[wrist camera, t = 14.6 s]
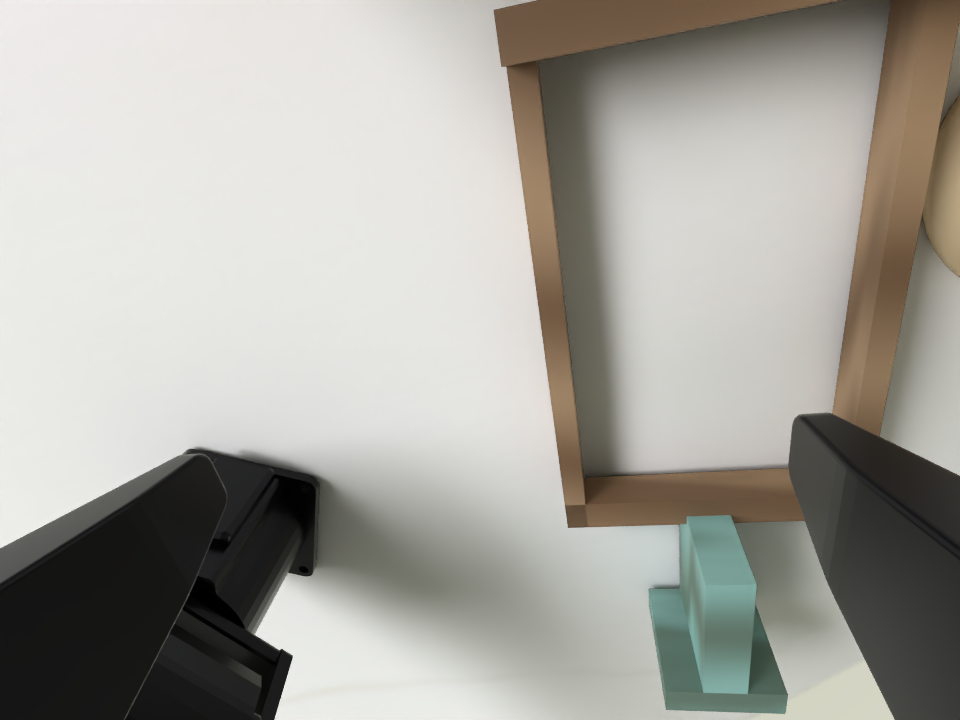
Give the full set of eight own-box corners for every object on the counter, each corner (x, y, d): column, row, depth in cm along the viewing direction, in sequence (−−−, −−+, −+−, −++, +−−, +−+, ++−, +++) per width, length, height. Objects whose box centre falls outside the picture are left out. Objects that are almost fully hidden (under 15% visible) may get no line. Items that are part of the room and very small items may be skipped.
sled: (824, 605, 25) (878, 717, 20) (581, 606, 27) (585, 707, 22) (937, -75, 13) (1107, -138, 9) (505, 19, 16) (484, 2, 11)
